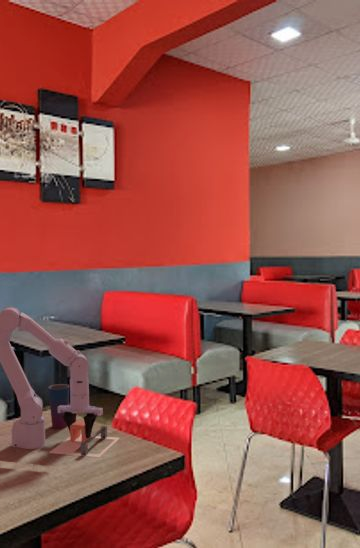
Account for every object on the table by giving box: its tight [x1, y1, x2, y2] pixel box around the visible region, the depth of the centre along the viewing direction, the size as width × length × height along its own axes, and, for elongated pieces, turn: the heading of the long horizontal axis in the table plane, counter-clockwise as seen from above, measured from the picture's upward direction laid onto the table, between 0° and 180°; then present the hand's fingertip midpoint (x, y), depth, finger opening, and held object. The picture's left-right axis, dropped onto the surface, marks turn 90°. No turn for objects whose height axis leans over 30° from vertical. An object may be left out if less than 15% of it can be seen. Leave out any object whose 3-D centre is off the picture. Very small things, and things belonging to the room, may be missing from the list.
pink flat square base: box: [48, 425, 121, 458], centre depth 161 cm, size 16×16×5 cm
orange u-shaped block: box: [69, 420, 90, 442], centre depth 166 cm, size 5×5×5 cm
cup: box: [48, 383, 70, 430], centre depth 178 cm, size 7×7×15 cm
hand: (80, 436), depth 166 cm, fingers closed on orange u-shaped block, 5 cm apart
